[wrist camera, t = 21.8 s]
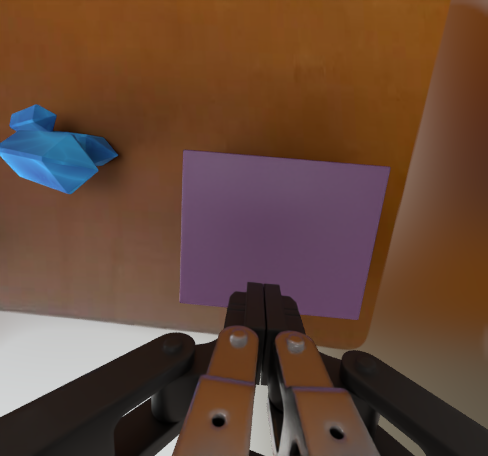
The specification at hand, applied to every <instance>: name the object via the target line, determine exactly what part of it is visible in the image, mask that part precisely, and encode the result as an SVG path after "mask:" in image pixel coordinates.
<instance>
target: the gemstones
mask: <svg viewBox="0 0 488 456" xmlns="http://www.w3.org/2000/svg"><path fill="white" fill-rule="evenodd" d="M56 116H57V115H55V114H53V113H52V112H50V111H48V110H46V109H44V108H43V107H41V106H39V105H33V106H31V107H29V108H26V109H24V110H21V111H19V112H17V113H14V114H12V116H11V121H10V125H9V126H10V127H11V128H12V129H14V130H15V131H17V132H16V133H14V134H13V135H12V136H10V137H9V138H7V139H6V140H4V141H3V142H1V143H0V156H1V157H2V158H3V159H4V160H5V161H6V162H7V164H8V165H9V166H10V167H11V168H12V169H13V170H14V171H15V172H16V173H17V174H18V175H19V176H20V177H23V178H25V179H28V180H31V181H34V182H37V183H39V184H42V185H45V186H48V187H51V188H53V189H56V190H59V191H62V192H64V193H67V194H72V193H73V192H74V191H75V190H77V189H78V188H79V187H80V186H81V185H82V184H84V183H85V182H86V181H87V180H88V179H90V178H91V177H92V176H93V175H94V174H95V173H97V172H98V171H99V170H98V169H97V167H96V166H103V165H104V164H106V163H107V162H109V161H110V160H112V159H113V158H115V157H117V156H118V154H117V153H116V152H115V151H114V150H113V148H112V147H111V146H110V145H109V144H108V142H107V141H106V140H105V139H104V138H103V137H98V136H92V135H86V134H78V133H69V132H61V131H53V128H54V124H55V120H56Z"/></svg>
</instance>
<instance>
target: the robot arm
mask: <svg viewBox="0 0 488 456" xmlns="http://www.w3.org/2000/svg"><path fill="white" fill-rule="evenodd" d="M260 373H261V385H267V386H268V399H267V412H268V420H269V427H270V435H271V442H272V450H273V456H414V455H413V454H412V453H411V452H409V451H408V450H407V449H406V448H405V447H404V446H402V445H401V444H400V443H399V442H398V441H397V440H395V439H394V438H393V437H392V436H391V435H389V434H388V433H387V432H386V431H385V430H384V429H382V428H381V427H380V426H379V425H378V421H379V418H380V414H381V415H382V416H383V417H384V418H386V419H387V420H388V421H389V422H390V423H392V424H393V425H394V426H395V427H397V428H398V429H399V430H400V431H402V432H403V433H404V434H405V435H407V436H408V437H409V438H410V439H411V440H413V441H414V442H415V443H416V444H418V445H419V446H420V447H421V449H422V450H423V451H424V453H425V454H426V456H488V430H487V429H486V428H484V427H483V426H481V425H480V424H478V423H477V422H475V421H474V420H472V419H470V418H469V417H467V416H466V415H464V414H463V413H461V412H460V411H458V410H457V409H455V408H453V407H452V406H450V405H449V404H447V403H445V402H444V401H443V400H441V399H440V398H438V397H436V396H435V395H433V394H432V393H430V392H429V391H427V390H426V389H424V388H423V387H421V386H419V385H418V384H416V383H415V382H413V381H412V380H410V379H409V378H407V377H405V376H404V375H402V374H401V373H399V372H398V371H396V370H395V369H393V368H392V367H390V366H388V365H387V364H385V363H384V362H382V361H381V360H379V359H378V358H376V357H374V356H373V355H371V354H368V353H366V352H362V351H356V350H353V351H348V352H346V353H344V355H343V356H342V360H340V359H337V358H333V357H331V356H327V355H325V354H323V353H321V352H319V351H318V349H317V347H316V345H315V343H314V341H313V340H312V339H311V338H310V337H308V336H307V335H306V334H305V330H304V327H303V323H302V320H301V317H300V313H299V311H298V307H297V303H296V302H295V301H294V300H293V299H292V298H291V297H290V296H283V295H281V291H280V286H279V285H277V284H267V283H264V284H263V283H256V282H247V291H246V292H240V291H235V292H234V293H233V294H232V295H231V296H230V298H229V303H228V308H227V314H226V319H225V324H224V329H223V330H222V331H221V332H220V334H219V336H218V339H216V340H214V341H212V342H209V343H205V344H199V345H195V341H194V340H193V338H192V337H190V336H189V335H187V334H183V333H168V334H165V335H162V336H160V337H158V338H156V339H154V340H152V341H151V342H148V343H147V344H144V345H142V346H140V347H138V348H136V349H134V350H132V351H130V352H128V353H126V354H125V355H123V356H121V357H119V358H117V359H115V360H113V361H111V362H109V363H107V364H105V365H103V366H101V367H99V368H97V369H95V370H93V371H91V372H89V373H87V374H85V375H83V376H81V377H79V378H77V379H75V380H73V381H71V382H69V383H67V384H65V385H64V386H61V387H59V388H57V389H56V390H53V391H52V392H50V393H48V394H45V395H43V396H42V397H39V398H38V399H36V400H34V401H32V402H30V403H28V404H26V405H24V406H22V407H20V408H18V409H16V410H14V411H12V412H10V413H8V414H6V415H4V416H2V417H0V456H155V455H156V454H157V453H158V452H159V451H160V450H162V449H163V448H164V447H165V446H166V445H167V444H168V443H170V442H171V441H172V440H173V439H174V438H175V437H176V436H178V435H179V437H178V440H177V443H176V446H175V449H174V452H173V454H172V456H264V455H261V454H259V453H256V452H254V451H251V450H249V448H250V436H251V426H252V415H253V404H254V396H255V388H256V384H257V385H259V382H260ZM149 397H151V398H150V399H148V398H149ZM146 399H148V400H147V401H145V400H146ZM143 401H145V402H144V403H142V402H143ZM140 403H142V404H141V405H139V404H140ZM137 405H139V406H138V407H137V408H135V407H136V406H137ZM133 408H135V409H134V410H132V409H133ZM130 410H132V411H131V412H129V411H130ZM127 412H129V413H128V414H126V413H127ZM125 414H126V415H125ZM123 415H125V416H123Z"/></svg>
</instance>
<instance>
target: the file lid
mask: <svg viewBox="0 0 488 456" xmlns="http://www.w3.org/2000/svg"><path fill="white" fill-rule="evenodd" d="M389 172H390V167H386V166H374V165H362V164H350V163H338V162H326V161H314V160H302V159H290V158H279V157H267V156H255V155H243V154H231V153H219V152H207V151H195V150H183V182H182V224H181V266H180V303H187V304H197V305H208V306H218V307H228V303H229V298H230V296H231V295H232V294H233V293H234V292H235V291H240V292H246V291H247V282H256V283H263V284H264V283H267V284H277V285H279V286H280V291H281V295H283V296H290V297H291V298H292V299H293V300H294V301H295V302H296V303H297V307H298V311H299V313H300V314H302V315H313V316H323V317H334V318H344V319H355V320H358V318H359V313H360V309H361V304H362V299H363V294H364V290H365V285H366V280H367V276H368V271H369V266H370V262H371V257H372V252H373V248H374V243H375V238H376V233H377V229H378V224H379V219H380V215H381V210H382V205H383V201H384V196H385V191H386V186H387V182H388V177H389Z"/></svg>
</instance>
